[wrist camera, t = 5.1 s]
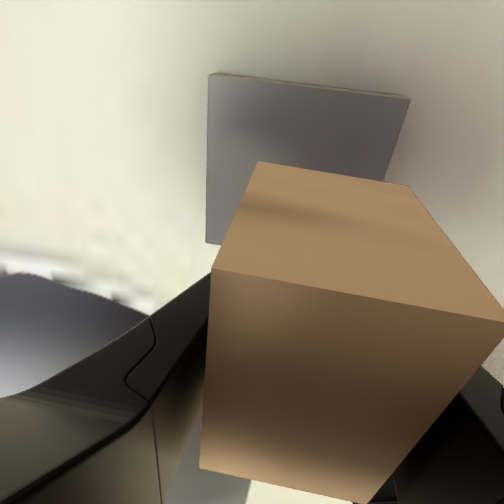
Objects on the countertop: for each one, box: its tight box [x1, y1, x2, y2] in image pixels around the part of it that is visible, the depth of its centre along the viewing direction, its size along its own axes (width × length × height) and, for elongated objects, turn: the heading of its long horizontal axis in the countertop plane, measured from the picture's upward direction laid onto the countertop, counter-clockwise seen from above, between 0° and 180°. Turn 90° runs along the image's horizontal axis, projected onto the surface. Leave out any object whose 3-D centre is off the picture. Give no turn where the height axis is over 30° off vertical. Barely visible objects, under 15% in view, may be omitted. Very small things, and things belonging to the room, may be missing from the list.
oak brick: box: [199, 161, 504, 504], centre depth 8 cm, size 6×4×5 cm, turn 173°
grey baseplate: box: [205, 73, 410, 245], centre depth 19 cm, size 10×10×2 cm
